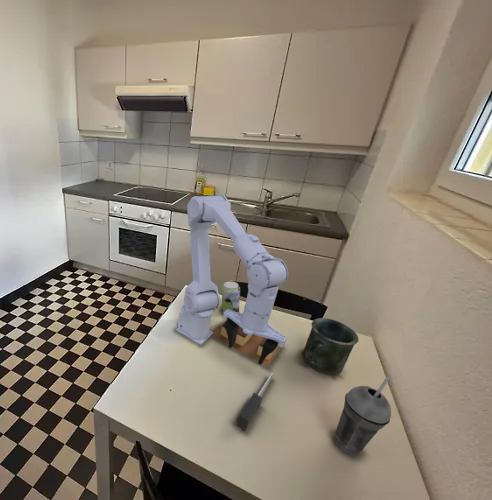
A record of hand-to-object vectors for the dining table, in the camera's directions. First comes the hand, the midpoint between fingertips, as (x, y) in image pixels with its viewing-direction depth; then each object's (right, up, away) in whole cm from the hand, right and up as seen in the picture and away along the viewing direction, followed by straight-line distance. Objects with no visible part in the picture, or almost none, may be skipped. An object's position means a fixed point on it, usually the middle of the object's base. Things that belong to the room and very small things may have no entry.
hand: (245, 353), depth 70 cm
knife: (+2, -11, -2) cm, 12 cm away
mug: (+25, -7, +11) cm, 28 cm away
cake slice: (+12, -4, +14) cm, 19 cm away
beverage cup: (+18, -16, -10) cm, 26 cm away
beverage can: (+5, +3, +31) cm, 32 cm away
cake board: (+7, -3, +18) cm, 19 cm away
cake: (+4, -1, +20) cm, 20 cm away
